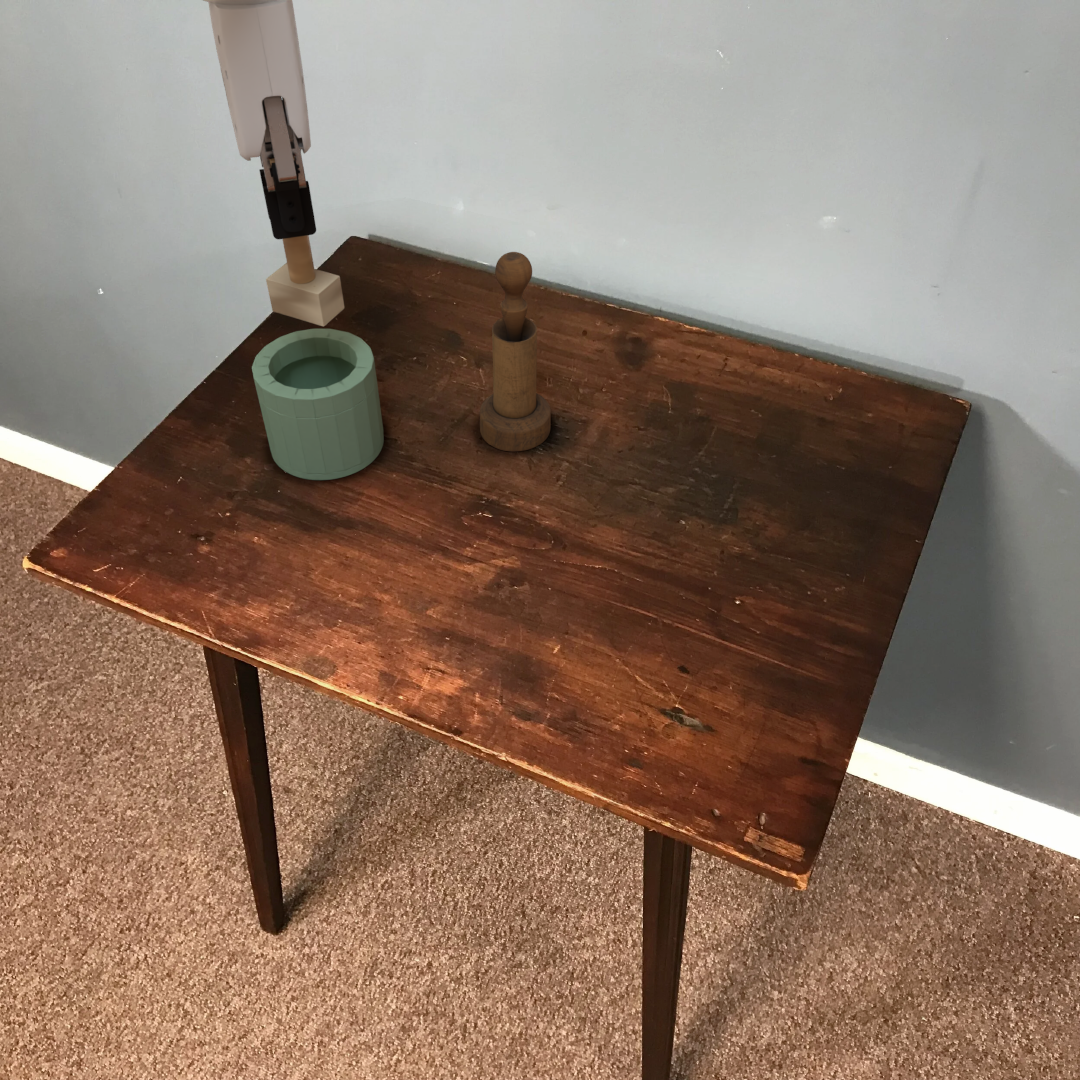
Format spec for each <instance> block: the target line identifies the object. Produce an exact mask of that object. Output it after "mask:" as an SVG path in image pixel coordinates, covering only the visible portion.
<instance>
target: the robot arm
mask: <svg viewBox="0 0 1080 1080" xmlns="http://www.w3.org/2000/svg"><path fill="white" fill-rule="evenodd" d="M202 1H203V2H206V3H207V2H208V8H209V16H210V22H211V28H212V33H213V39H214V44H215V49H216V53H217V59H218V63H219V67H220V73H221V77H222V83H223V87H224V91H225V96H226V101H227V105H228V111H229V114H230V119H231V124H232V128H233V132H234V136H235V140H236V144H237V148H238V153H239V156H240V157H241V158H242V159H244V160H246V162H247V161H250V162H251V160H252V158H260V164H261V167H262V168H261V169H259V176H260V181H261V185H262V190H263V195H264V202H265V205H266V212H267V215H268V219H269V222H270V227H271V232H272V236H273V238H274V239H275V240H283V239H286V238H293V237H300V236H307V235H309V236H312V235H315V234H316V233H317V226H316V225H317V224H316V219H315V212H314V207H313V202H312V194H311V189H310V183H309V181H308V180H307V179H306V174H305V168H304V163H303V157H302V153H303V154H304V155H305V154H306V153H307V152H308V151H309V150H310V148H311V147H312V140H311V130H310V121H309V111H308V110H309V109H308V103H307V102H308V100H307V93H306V83H305V77H304V76H305V75H304V70H303V62H302V56H301V47H300V42H299V36H298V29H297V22H296V16H295V15H296V14H295V9H294V3H293V0H202ZM293 158H294V160H293ZM270 159H275V163H271V164H272V165H271V164H270Z"/></svg>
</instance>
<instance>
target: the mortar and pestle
mask: <svg viewBox="0 0 1080 1080" xmlns="http://www.w3.org/2000/svg"><path fill="white" fill-rule="evenodd" d="M494 268H495V270H494V274H495V278H496V281H497V282H498V284H499V286H500V287H501V288H502V290H503V291H504V294H505V295H504V299H503V300H502V301H501V302H500V312H501V315H502V317H501V318H499V319H497V320H496V321H495V322H494V323H493V324H492V327H491V342H492V343H491V345H492V394H490V395H488V396H487V397H486V398H485V399H484V400H483V402H482V403H481V404H480V408H479V432H480V436H481V438H482V439H483V440H484V442H486V444H488V445H489V446H491V447H493V448H495V449H497V450H501V451H504V452H512V453H513V452H524V451H528V450H532V449H534V448H537V447H538V446H540V445H542V444H543V443H544V442H545V441H546V440H547V439H548V437H549V435H550V433H551V426H552V424H551V423H552V422H551V421H552V420H551V418H552V411H551V406H550V404H549V402H548V400H547V399H546V398H545V397H543V396H542V395H541V394H540V393H537V376H538V375H537V371H538V370H537V368H538V367H537V366H538V365H537V363H538V361H537V360H538V327H537V324H536V323H535V322H534V321H533V320H531V319H530V318H528V317H527V313H528V307H529V303H528V301H527V300H526V299H524V298H523V293H524V291H525V290H526V288H527V286H528V285H529V283H530V282H531V280H532V276H533V267H532V263H531V261H530V259H529V258H528V257H527V256H526V255H525V254H523V253H521V252H519V251H518V252H517V251H510V252H509V251H508V252H507V253H506V252H505V253H504V254H503V255H501V256H500V257H499V258H498V260H497V261H496V264H495V267H494Z"/></svg>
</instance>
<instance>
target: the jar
mask: <svg viewBox="0 0 1080 1080" xmlns="http://www.w3.org/2000/svg"><path fill="white" fill-rule="evenodd" d="M375 362H376V361H375V357H374V353H373V351H372V349H371V347H370V346H369V345H368V343H366V342H365V341H364V340H363V339H362V338H361V337H359V336H357V335H356V334H353V333H352V332H348V331H344V330H338V329H333V328H310V329H309V328H308V329H303V330H296V331H293V332H290V333H288V334H284V335H282V336H279V337H278V338H276V339H273V341H271V342H270V343H267V344H266V345H265V346H264V347H263V348H262V349H261V350H260V351H259V352H258V353H257V354H256V355H255V356H254V360H253V363H252V366H251V371H252V377H253V381H254V382H253V383H254V386H255V390H256V394H257V398H258V403H259V406H260V411H261V415H262V420H263V424H264V430H265V433H266V436H267V441H268V446H269V450H270V453H271V457H272V459H273V461H274V462H275V464H276V465H277V467H279V468H280V469H281V470H283V471H284V472H285V473H287V474H289V475H291V476H294V477H296V478H300V479H303V480H310V481H329V480H337V479H341V478H345V477H348V476H352V475H354V474H356V473H358V472H360V471H362V470H364V469H365V468H366V467H368V466H369V465H370V464H372V463H373V462H374V461H375V460H376V459H377V458H378V456H379V455H380V453H381V451H382V449H383V446H384V442H385V440H384V436H385V435H384V425H383V424H384V423H383V417H382V409H381V400H380V394H379V386H378V379H377V378H378V377H377V371H376V363H375Z"/></svg>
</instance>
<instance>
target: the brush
mask: <svg viewBox="0 0 1080 1080" xmlns="http://www.w3.org/2000/svg"><path fill="white" fill-rule="evenodd" d="M293 160H294V158H293ZM271 163H275V159H270V164H271ZM271 165H272V164H271ZM282 244H283V249H284V255H285V261H286V262H285V263H284V264H283V265H282V266H280V267H279V268H278V269H276V270H275V271H273V272H272V274H270V275H269V276H268V277H266V278H265V282H266V286H267V292H268V297H269V300H270V301H269V302H270V306H271V311H272V312H274V313H277V314H280V315H284V316H287V317H290V318H294V319H297V320H301V321H304V322H307V323H310V324H314V325H316V326H320V327H325V326H327V325H328V323H331V321H332V320H333V319H334V318H336V317H337V316H338V315H339V314H340V313H341V312H342V311H343V310H344V309H345V301H344V295H343V288H342V281H341V277H340V275H338V274H335V273H330V272H328V271H323V270H320V269H316V268H315V265H314V259H313V254H312V253H313V252H312V247H311V240H310V235H307V236H300V237H293V238H286V239H282Z"/></svg>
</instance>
